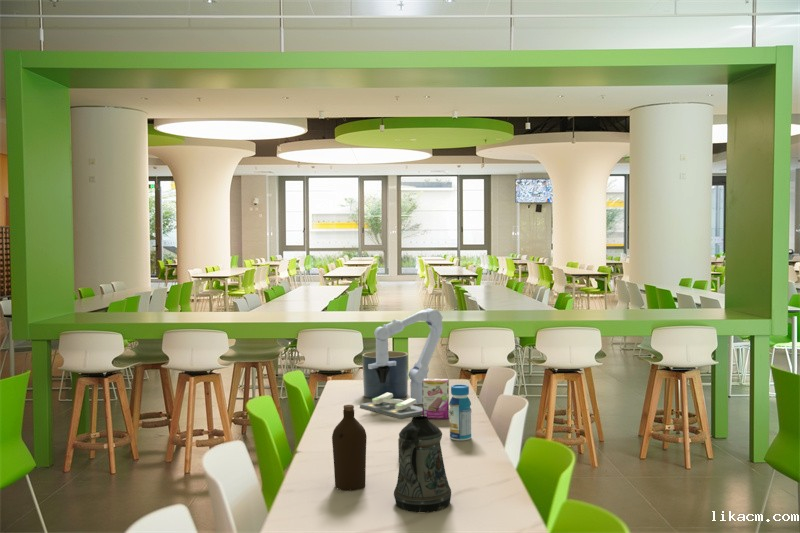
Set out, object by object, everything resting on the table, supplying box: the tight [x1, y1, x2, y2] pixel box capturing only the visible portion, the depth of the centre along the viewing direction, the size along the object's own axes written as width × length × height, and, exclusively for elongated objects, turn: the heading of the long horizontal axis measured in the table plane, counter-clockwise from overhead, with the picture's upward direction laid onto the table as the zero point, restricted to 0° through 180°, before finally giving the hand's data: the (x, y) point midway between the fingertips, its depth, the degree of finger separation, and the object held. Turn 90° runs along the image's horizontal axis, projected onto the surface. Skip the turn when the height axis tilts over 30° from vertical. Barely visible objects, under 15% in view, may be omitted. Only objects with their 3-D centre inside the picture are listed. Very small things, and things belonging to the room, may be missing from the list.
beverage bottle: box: [449, 384, 472, 442], centre depth 297 cm, size 8×8×20 cm
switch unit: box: [359, 401, 423, 420], centre depth 348 cm, size 16×30×3 cm, turn 38°
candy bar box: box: [422, 378, 450, 420], centre depth 331 cm, size 11×5×16 cm, turn 84°
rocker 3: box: [395, 397, 417, 410], centre depth 341 cm, size 9×4×2 cm, turn 128°
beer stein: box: [393, 415, 452, 513], centre depth 223 cm, size 16×19×25 cm
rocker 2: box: [383, 398, 405, 404], centre depth 348 cm, size 9×4×2 cm, turn 128°
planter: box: [361, 350, 409, 400], centre depth 381 cm, size 22×22×20 cm
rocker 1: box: [371, 392, 393, 404], centre depth 354 cm, size 9×4×2 cm, turn 128°
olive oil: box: [331, 404, 368, 491], centre depth 241 cm, size 11×11×25 cm
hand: (382, 382), depth 357 cm, fingers closed
